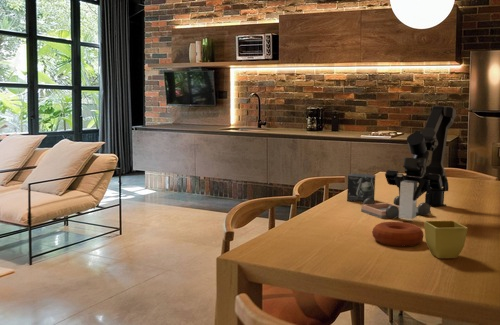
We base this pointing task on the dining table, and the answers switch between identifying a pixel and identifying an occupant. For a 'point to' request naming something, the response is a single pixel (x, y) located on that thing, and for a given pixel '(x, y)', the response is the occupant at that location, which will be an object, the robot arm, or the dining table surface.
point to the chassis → (390, 208)
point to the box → (360, 187)
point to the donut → (398, 234)
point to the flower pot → (445, 238)
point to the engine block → (407, 199)
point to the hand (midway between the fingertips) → (407, 199)
